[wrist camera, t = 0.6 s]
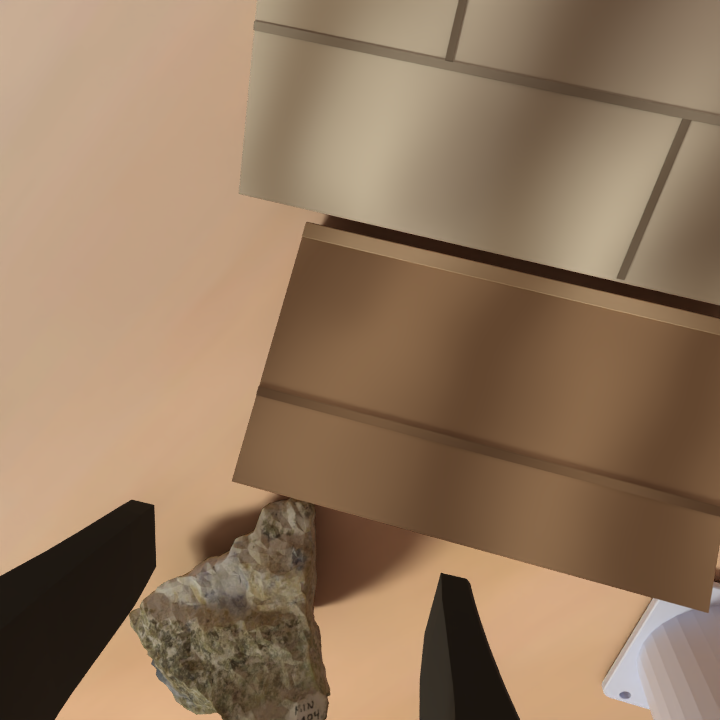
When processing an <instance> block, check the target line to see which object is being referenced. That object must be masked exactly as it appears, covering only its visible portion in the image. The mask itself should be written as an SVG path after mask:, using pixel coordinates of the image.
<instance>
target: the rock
mask: <svg viewBox="0 0 720 720" xmlns="http://www.w3.org/2000/svg"><path fill="white" fill-rule="evenodd" d="M315 515H316V513H315V508H314V504H312V503H309V502H305V501H301V500H297V499H294V498H290V499H288V500H287V501H286V500H284V501H278V502H273V503H269V504H268V505H267V506H265V507H264V508H263V509H262V511H261V514H260V516H259V519H258V522H257V525H256V528H255V530H254V531H252V532H250V533H249V534H247V535H243V536H241V537H238V538H236V539H235V541H234V543H233V545H232V547H231V549H230V551H228V552H227V553H224V554H222V555H221V556H215V557H209V558H208V559H207V560H205V561H204V562H202V563H200V564H199V565H197V566H196V567H195V568H194V569H193V570H191V571H190V572H188V573H187V574H185V575H183V576H179V577H176V578H173V579H171V580H168V581H167V582H164V583H163V584H161V585H160V586H159V587H157V589H156V590H155V591H153V592H152V593H151V594H150V595H149V596H148V597H146V598H145V599H144V600H143V601H142V603H141V605H140V608H139V609H135V610H133V611H131V613H130V614H129V617H130V624H131V627H132V628H133V629H134V631H135V632H136V633H137V634H138V636H139V638H140V641H141V643H142V645H143V646H144V648H145V649H146V650H147V651H148V655H149V656H150V657H151V658H152V659H153V660H152V663H151V664H152V665H153V666H154V667H155V668H156V669H157V671H156V675H157V677H158V679H159V680H160V681H162V682H163V683H164V684H166V685H167V687H168V688H169V690H170V691H171V692H172V693H173V696H174V697H175V700H176V702H178V703H179V704H181V705H182V706H183V707H184V708H186V709H187V710H189V711H191V712H193V713H195V714H196V715H197V714H212V713H219V714H220V715H221V716H222V719H223V720H325V719H326V717H327V710H328V704H329V702H328V698H327V696H330V687H329V685H328V682H327V678H326V671H325V666H324V664H323V661H322V653H321V635H320V630H319V626H318V625H317V623H316V622H315V620H314V614H313V613H314V606H313V603H314V596H315V589H316V583H317V572H316V567H315V561H316V545H315V540H316V529H315V524H314V518H315Z"/></svg>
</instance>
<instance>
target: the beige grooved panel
mask: <svg viewBox="0 0 720 720" xmlns="http://www.w3.org/2000/svg"><path fill="white" fill-rule="evenodd" d="M239 194H242V195H246V196H250V197H254V198H259V199H263V200H267V201H272V202H276V203H280V204H285V205H289V206H293V207H298V208H302V209H306V210H310V211H315V212H319V213H323V214H328V215H332V216H336V217H341V218H345V219H349V220H354V221H358V222H362V223H367V224H371V225H375V226H379V227H384V228H388V229H392V230H397V231H401V232H405V233H410V234H414V235H418V236H423V237H427V238H431V239H436V240H440V241H444V242H448V243H453V244H457V245H461V246H466V247H470V248H474V249H479V250H483V251H487V252H492V253H496V254H500V255H504V256H509V257H513V258H517V259H522V260H526V261H530V262H535V263H539V264H543V265H548V266H552V267H556V268H561V269H565V270H569V271H573V272H578V273H582V274H586V275H591V276H595V277H599V278H604V279H608V280H612V281H617V282H621V283H625V284H630V285H634V286H638V287H642V288H647V289H651V290H655V291H660V292H664V293H668V294H673V295H677V296H681V297H686V298H690V299H694V300H699V301H703V302H707V303H711V304H716V305H720V0H257V6H256V16H255V21H254V38H253V48H252V59H251V69H250V80H249V90H248V101H247V112H246V122H245V133H244V143H243V154H242V164H241V175H240V185H239Z"/></svg>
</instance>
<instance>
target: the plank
mask: <svg viewBox="0 0 720 720" xmlns="http://www.w3.org/2000/svg"><path fill="white" fill-rule="evenodd" d="M256 395H257V396H256V399H255V403H254V406H253V409H252V413H251V416H250V420H249V423H248V427H247V430H246V434H245V437H244V441H243V444H242V448H241V451H240V454H239V458H238V461H237V465H236V468H235V472H234V475H233V479H232V481H233V482H236V483H240V484H244V485H247V486H251V487H254V488H258V489H262V490H265V491H269V492H272V493H276V494H280V495H283V496H287V497H291V498H294V499H298V500H301V501H305V502H309V503H312V504H316V505H319V506H323V507H327V508H330V509H334V510H337V511H341V512H345V513H348V514H352V515H355V516H359V517H363V518H366V519H370V520H374V521H377V522H381V523H384V524H388V525H392V526H395V527H399V528H402V529H406V530H410V531H413V532H417V533H420V534H424V535H428V536H431V537H435V538H439V539H442V540H446V541H449V542H453V543H457V544H460V545H464V546H467V547H471V548H475V549H478V550H482V551H485V552H489V553H493V554H496V555H500V556H503V557H507V558H511V559H514V560H518V561H522V562H525V563H529V564H532V565H536V566H540V567H543V568H547V569H550V570H554V571H558V572H561V573H565V574H568V575H572V576H576V577H579V578H583V579H586V580H590V581H594V582H597V583H601V584H605V585H608V586H612V587H615V588H619V589H623V590H626V591H630V592H633V593H637V594H641V595H644V596H648V597H651V598H655V599H659V600H662V601H666V602H670V603H673V604H677V605H680V606H684V607H688V608H691V609H695V610H698V611H702V612H706V613H709V608H710V601H711V595H712V589H713V583H714V577H715V570H716V564H717V558H718V552H719V545H720V318H716V317H712V316H707V315H703V314H699V313H695V312H690V311H686V310H682V309H677V308H673V307H669V306H665V305H660V304H656V303H652V302H648V301H643V300H639V299H635V298H630V297H626V296H622V295H618V294H613V293H609V292H605V291H601V290H596V289H592V288H588V287H583V286H579V285H575V284H571V283H566V282H562V281H558V280H553V279H549V278H545V277H541V276H536V275H532V274H528V273H524V272H519V271H515V270H511V269H506V268H502V267H498V266H494V265H489V264H485V263H481V262H476V261H472V260H468V259H464V258H459V257H455V256H451V255H447V254H442V253H438V252H434V251H429V250H425V249H421V248H417V247H412V246H408V245H404V244H400V243H395V242H391V241H387V240H382V239H378V238H374V237H370V236H365V235H361V234H357V233H352V232H348V231H344V230H340V229H335V228H331V227H327V226H323V225H318V224H314V223H310V222H306V224H305V228H304V231H303V235H302V240H301V243H300V247H299V250H298V254H297V257H296V261H295V264H294V267H293V271H292V274H291V278H290V281H289V285H288V288H287V292H286V295H285V299H284V302H283V306H282V309H281V313H280V316H279V319H278V323H277V326H276V330H275V333H274V337H273V340H272V344H271V347H270V351H269V354H268V358H267V361H266V364H265V368H264V371H263V375H262V378H261V382H260V385H259V387H258V390H257V394H256Z"/></svg>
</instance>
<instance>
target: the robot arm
mask: <svg viewBox="0 0 720 720" xmlns="http://www.w3.org/2000/svg"><path fill="white" fill-rule="evenodd" d="M155 568H156V546H155V514H154V505H152V504H148V503H143V502H139V501H135V500H130V501H129V502H127V503H125V504H123V505H122V506H120V507H118V508H117V509H115V510H114V511H112V512H110V513H109V514H107V515H105V516H104V517H102V518H100V519H99V520H97V521H96V522H94V523H92V524H91V525H89V526H87V527H86V528H84V529H82V530H81V531H79V532H78V533H76V534H74V535H73V536H71V537H69V538H67V539H66V540H64V541H62V542H61V543H59V544H57V545H56V546H54V547H52V548H51V549H49V550H47V551H45V552H44V553H42V554H40V555H38V556H36V557H34V558H33V559H31V560H29V561H27V562H25V563H23V564H22V565H20V566H18V567H16V568H14V569H12V570H11V571H9V572H7V573H5V574H3V575H1V576H0V720H55V718H56V717H57V715H58V713H59V712H60V710H61V709H62V707H63V706H64V704H65V703H66V701H67V700H68V698H69V697H70V695H71V694H72V692H73V691H74V690H75V688H76V687H77V685H78V684H79V683H80V681H81V680H82V678H83V677H84V676H85V674H86V673H87V672H88V670H89V669H90V667H91V666H92V665H93V663H94V662H95V660H96V659H97V658H98V656H99V655H100V653H101V652H102V651H103V649H104V648H105V647H106V645H107V644H108V642H109V641H110V640H111V638H112V637H113V635H114V634H115V633H116V631H117V630H118V628H119V627H120V626H121V624H122V623H123V621H124V620H125V619H126V617H127V616H128V614H129V613H130V611H131V610H132V608H133V607H134V606H135V604H136V602H137V600H138V599H139V597H140V595H141V593H142V592H143V590H144V588H145V586H146V584H147V583H148V581H149V579H150V577H151V575H152V573H153V571H154V570H155ZM602 688H603V692H604V694H605V695H606V696H608V697H610V698H613V699H616V700H619V701H623V702H626V703H630V704H633V705H636V706H640V707H643V708H647V709H650V711H651V714H652V717H653V720H720V583H717V582H714V583H713V589H712V595H711V601H710V608H709V613H706V612H702V611H698V610H695V609H691V608H688V607H684V606H680V605H677V604H673V603H670V602H666V601H662V600H659V599H655V598H653V599H652V601H651V602H650V604H649V606H648V607H647V609H646V611H645V612H644V614H643V616H642V617H641V619H640V621H639V622H638V624H637V625H636V627H635V629H634V630H633V632H632V634H631V635H630V637H629V639H628V640H627V642H626V644H625V645H624V647H623V649H622V650H621V652H620V654H619V655H618V657H617V659H616V660H615V662H614V664H613V665H612V667H611V669H610V670H609V672H608V674H607V675H606V677H605V678H604V680H603V682H602ZM420 720H520V718H519V716H518V714H517V712H516V710H515V708H514V705H513V703H512V701H511V699H510V696H509V694H508V692H507V689H506V687H505V685H504V682H503V680H502V678H501V675H500V673H499V670H498V667H497V665H496V662H495V660H494V657H493V654H492V652H491V649H490V647H489V644H488V641H487V638H486V635H485V632H484V629H483V626H482V623H481V620H480V617H479V614H478V611H477V607H476V604H475V600H474V597H473V593H472V589H471V585H470V583H469V581H468V580H467V579H465V578H460V577H456V576H452V575H448V574H443V573H441V575H440V578H439V582H438V586H437V589H436V593H435V597H434V601H433V604H432V608H431V612H430V615H429V619H428V623H427V627H426V630H425V635H424V644H423V654H422V663H421V673H420Z"/></svg>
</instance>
